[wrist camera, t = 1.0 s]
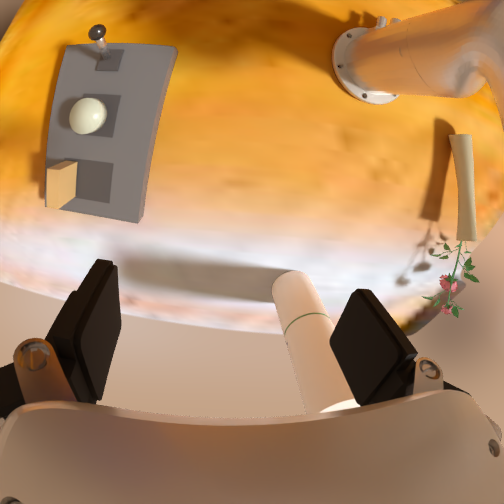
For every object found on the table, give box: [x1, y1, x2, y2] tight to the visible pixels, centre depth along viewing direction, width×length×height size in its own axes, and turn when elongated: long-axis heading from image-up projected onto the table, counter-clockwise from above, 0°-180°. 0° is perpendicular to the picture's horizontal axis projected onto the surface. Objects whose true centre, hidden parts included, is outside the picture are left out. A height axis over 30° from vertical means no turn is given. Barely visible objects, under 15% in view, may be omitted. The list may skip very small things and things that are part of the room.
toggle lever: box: [88, 24, 111, 60], centre depth 19 cm, size 2×2×6 cm
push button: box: [69, 98, 107, 134], centre depth 25 cm, size 4×4×2 cm
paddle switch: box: [47, 161, 78, 209], centre depth 28 cm, size 5×2×5 cm, turn 164°
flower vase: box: [422, 134, 479, 318], centre depth 41 cm, size 12×12×35 cm
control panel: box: [45, 43, 178, 224], centre depth 29 cm, size 24×16×4 cm, turn 164°
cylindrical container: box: [272, 271, 360, 414], centre depth 36 cm, size 7×7×25 cm
